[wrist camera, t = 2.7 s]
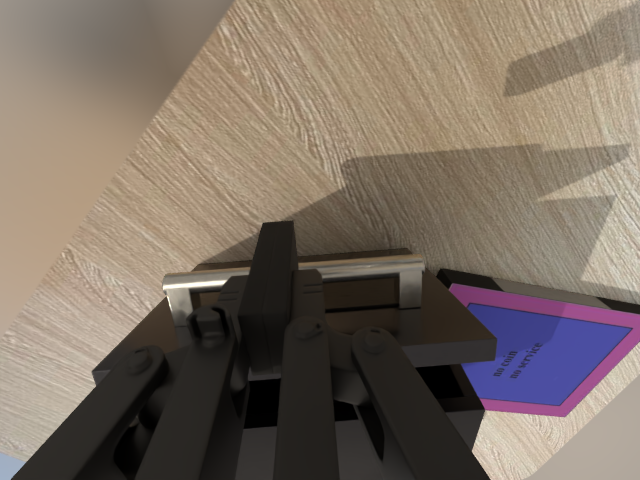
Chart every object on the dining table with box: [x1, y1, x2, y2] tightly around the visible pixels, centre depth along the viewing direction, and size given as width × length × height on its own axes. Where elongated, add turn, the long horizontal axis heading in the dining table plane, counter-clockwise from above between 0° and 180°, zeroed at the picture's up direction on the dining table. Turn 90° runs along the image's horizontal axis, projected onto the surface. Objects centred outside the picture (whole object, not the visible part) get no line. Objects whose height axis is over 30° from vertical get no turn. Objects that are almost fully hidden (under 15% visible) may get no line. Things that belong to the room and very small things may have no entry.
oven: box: [133, 364, 485, 480], centre depth 32 cm, size 18×24×18 cm
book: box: [436, 268, 640, 417], centre depth 43 cm, size 21×3×30 cm
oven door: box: [92, 248, 497, 386], centre depth 26 cm, size 5×24×18 cm, turn 94°
